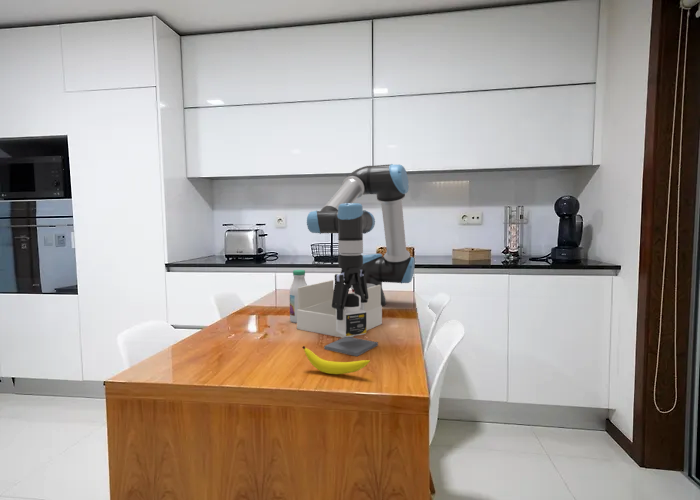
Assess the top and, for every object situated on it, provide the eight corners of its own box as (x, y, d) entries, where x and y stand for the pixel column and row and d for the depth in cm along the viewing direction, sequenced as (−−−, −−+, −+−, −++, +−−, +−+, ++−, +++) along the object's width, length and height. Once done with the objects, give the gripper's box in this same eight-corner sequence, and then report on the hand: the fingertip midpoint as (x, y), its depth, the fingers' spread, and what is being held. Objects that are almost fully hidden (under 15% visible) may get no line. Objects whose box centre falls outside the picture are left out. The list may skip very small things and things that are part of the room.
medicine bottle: (346, 337, 120) (345, 297, 119) (335, 331, 126) (335, 293, 125) (366, 334, 123) (366, 295, 122) (355, 328, 129) (355, 291, 128)
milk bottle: (311, 318, 161) (310, 269, 159) (307, 323, 153) (306, 271, 152) (292, 318, 162) (291, 269, 160) (287, 323, 154) (286, 271, 153)
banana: (368, 382, 98) (368, 356, 98) (300, 371, 106) (299, 347, 105) (372, 377, 101) (372, 353, 101) (305, 367, 108) (305, 344, 108)
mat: (346, 339, 133) (346, 336, 133) (377, 345, 126) (377, 342, 126) (324, 349, 123) (324, 346, 123) (357, 356, 117) (357, 353, 116)
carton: (333, 316, 165) (333, 279, 164) (381, 323, 152) (381, 284, 151) (297, 328, 146) (296, 288, 145) (348, 338, 134) (347, 294, 132)
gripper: (359, 251, 134) (360, 317, 135) (318, 256, 116) (319, 333, 117) (379, 252, 130) (379, 320, 131) (339, 257, 111) (340, 337, 113)
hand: (351, 326), depth 124 cm, fingers closed on medicine bottle, 9 cm apart
